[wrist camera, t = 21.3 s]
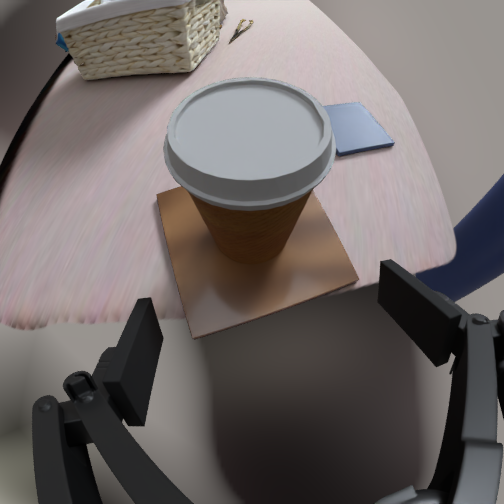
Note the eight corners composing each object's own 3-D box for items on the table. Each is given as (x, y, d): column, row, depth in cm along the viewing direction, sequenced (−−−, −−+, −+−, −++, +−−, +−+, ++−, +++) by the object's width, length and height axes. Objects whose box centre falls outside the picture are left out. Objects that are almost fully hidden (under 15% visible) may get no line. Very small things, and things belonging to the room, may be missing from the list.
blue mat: (393, 145, 31) (394, 142, 30) (338, 156, 30) (339, 152, 29) (358, 105, 34) (359, 101, 33) (305, 112, 33) (306, 108, 32)
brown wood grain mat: (357, 281, 24) (359, 279, 23) (193, 339, 22) (192, 338, 21) (292, 159, 29) (293, 155, 29) (157, 197, 27) (156, 194, 27)
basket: (74, 86, 39) (48, 21, 25) (120, 43, 45) (105, -13, 32) (196, 79, 36) (182, -12, 23) (229, 37, 43) (225, -32, 29)
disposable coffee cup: (177, 216, 26) (136, 110, 15) (266, 170, 28) (271, 61, 17) (231, 306, 22) (209, 227, 11) (329, 245, 24) (377, 143, 13)
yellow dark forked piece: (233, 45, 42) (233, 39, 40) (219, 45, 42) (219, 38, 41) (254, 24, 46) (254, 18, 45) (242, 23, 47) (242, 17, 45)
